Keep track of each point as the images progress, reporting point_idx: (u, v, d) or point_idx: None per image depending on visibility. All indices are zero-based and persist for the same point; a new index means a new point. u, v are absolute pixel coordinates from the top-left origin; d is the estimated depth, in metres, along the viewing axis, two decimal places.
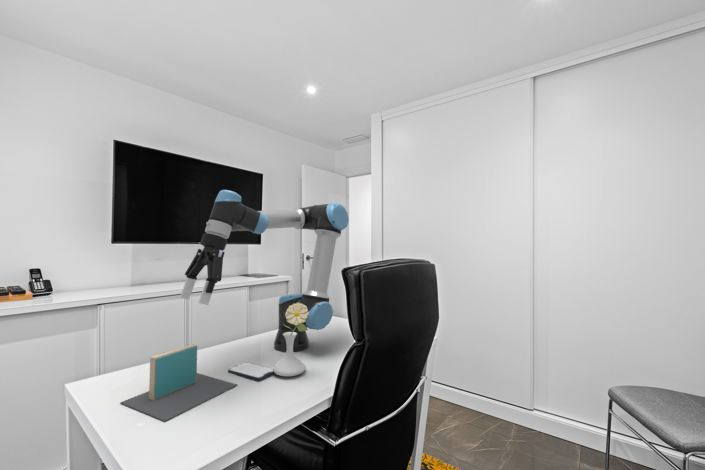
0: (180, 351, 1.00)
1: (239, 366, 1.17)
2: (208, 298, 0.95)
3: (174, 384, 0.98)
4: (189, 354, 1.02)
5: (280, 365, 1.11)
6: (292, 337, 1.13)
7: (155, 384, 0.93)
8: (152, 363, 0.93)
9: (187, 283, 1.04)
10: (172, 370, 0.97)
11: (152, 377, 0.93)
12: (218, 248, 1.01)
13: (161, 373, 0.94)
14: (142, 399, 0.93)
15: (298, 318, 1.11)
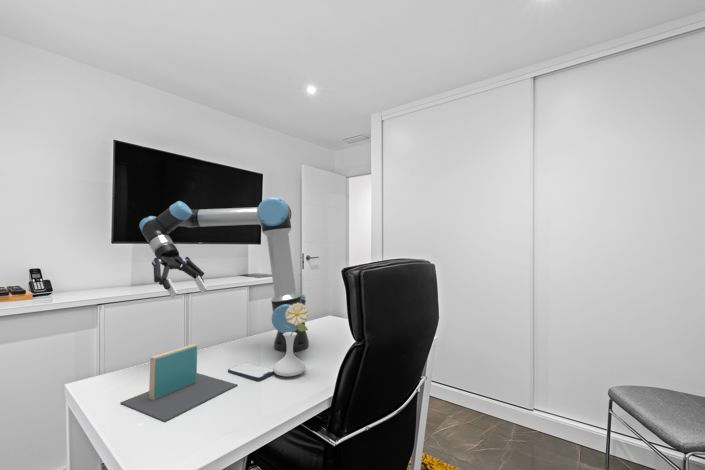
0: (180, 351, 1.00)
1: (239, 366, 1.17)
2: (172, 289, 1.12)
3: (174, 384, 0.98)
4: (189, 354, 1.02)
5: (280, 365, 1.11)
6: (292, 337, 1.13)
7: (155, 384, 0.93)
8: (152, 363, 0.93)
9: (196, 283, 1.24)
10: (172, 370, 0.97)
11: (152, 377, 0.93)
12: (160, 257, 1.20)
13: (161, 373, 0.94)
14: (142, 399, 0.93)
15: (298, 318, 1.11)
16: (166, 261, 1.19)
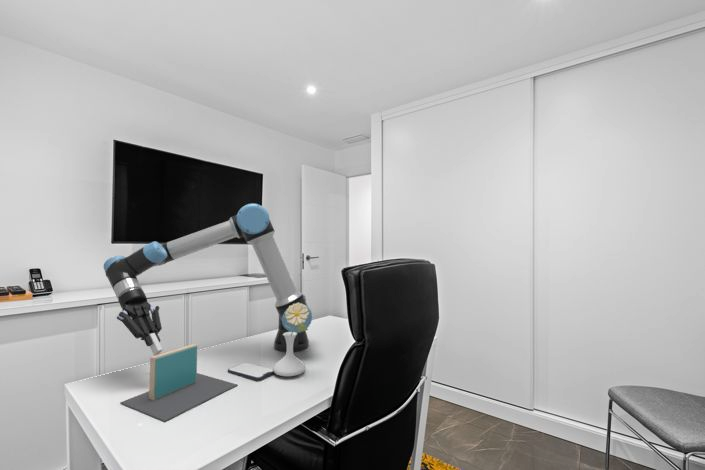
0: (180, 351, 1.00)
1: (239, 366, 1.17)
2: (155, 346, 1.02)
3: (174, 384, 0.98)
4: (189, 354, 1.02)
5: (280, 365, 1.11)
6: (292, 337, 1.13)
7: (155, 384, 0.93)
8: (152, 363, 0.93)
9: None
10: (172, 370, 0.97)
11: (152, 377, 0.93)
12: (123, 305, 1.06)
13: (161, 373, 0.94)
14: (142, 399, 0.93)
15: (298, 318, 1.11)
16: (130, 310, 1.05)
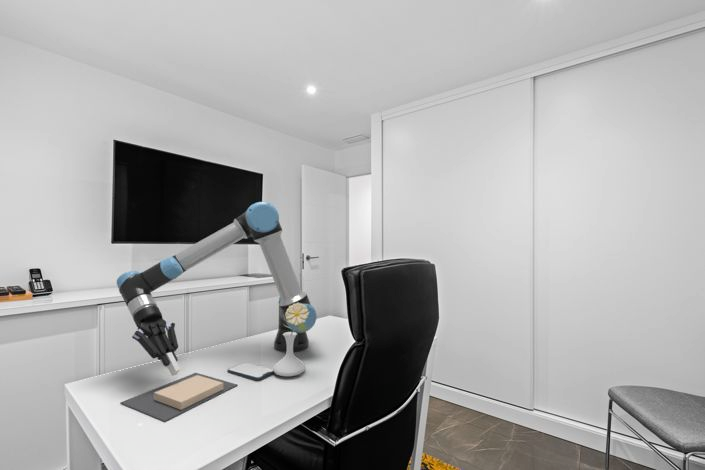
0: (205, 397, 0.94)
1: (238, 366, 1.17)
2: (172, 367, 0.98)
3: None
4: None
5: (280, 365, 1.11)
6: (292, 337, 1.13)
7: (165, 403, 0.91)
8: (177, 405, 0.88)
9: None
10: None
11: (168, 403, 0.89)
12: (138, 323, 1.02)
13: None
14: (142, 399, 0.93)
15: (298, 318, 1.11)
16: (146, 329, 1.01)
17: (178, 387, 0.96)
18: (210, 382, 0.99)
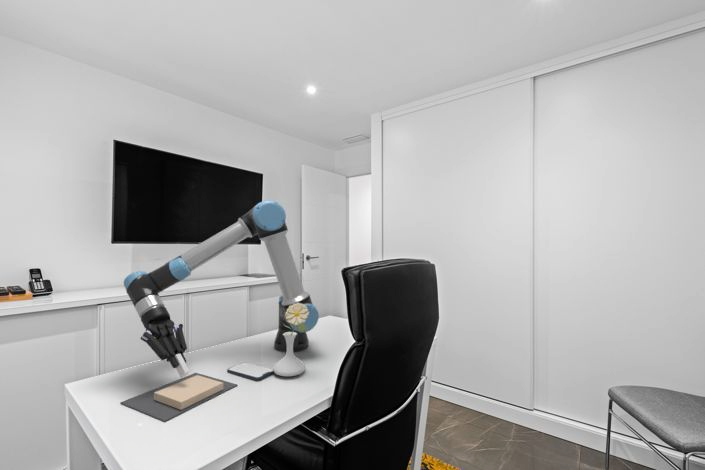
0: (205, 397, 0.94)
1: (238, 366, 1.17)
2: (181, 368, 0.97)
3: None
4: None
5: (280, 365, 1.11)
6: (292, 337, 1.13)
7: (165, 403, 0.91)
8: (177, 405, 0.88)
9: None
10: None
11: (168, 403, 0.89)
12: (146, 324, 1.00)
13: None
14: (142, 399, 0.93)
15: (298, 318, 1.11)
16: (154, 330, 1.00)
17: (178, 387, 0.96)
18: (210, 382, 0.99)
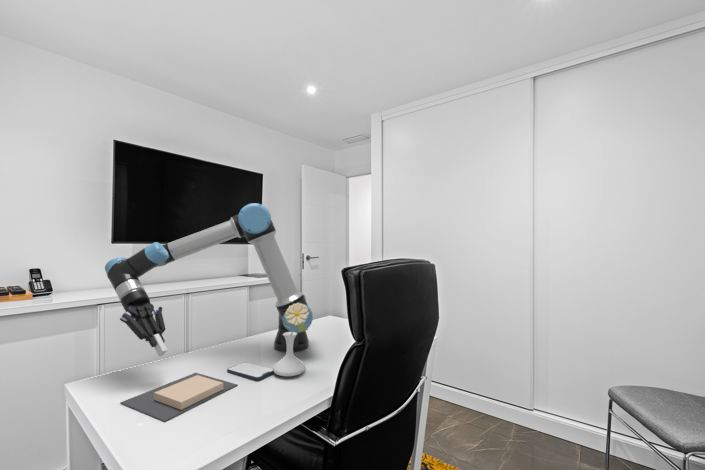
0: (205, 397, 0.94)
1: (238, 366, 1.17)
2: (159, 347, 1.02)
3: None
4: None
5: (280, 365, 1.11)
6: (292, 337, 1.13)
7: (165, 403, 0.91)
8: (177, 405, 0.88)
9: None
10: None
11: (168, 403, 0.89)
12: (126, 306, 1.05)
13: None
14: (142, 399, 0.93)
15: (298, 318, 1.11)
16: (133, 311, 1.05)
17: (178, 387, 0.96)
18: (210, 382, 0.99)
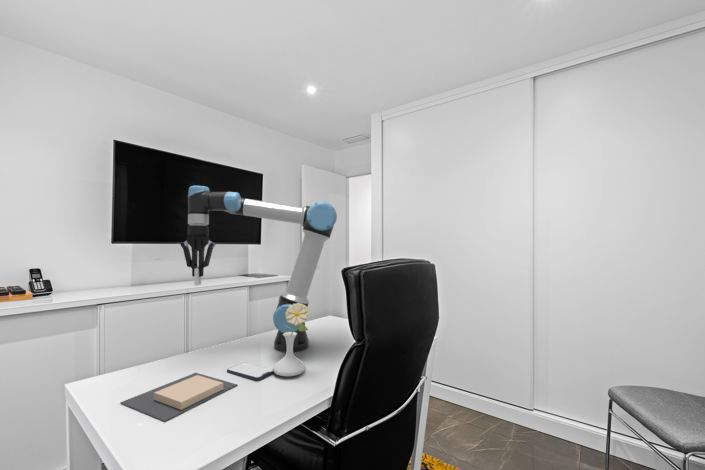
0: (205, 397, 0.94)
1: (238, 366, 1.17)
2: None
3: None
4: None
5: (280, 365, 1.11)
6: (292, 337, 1.13)
7: (165, 403, 0.91)
8: (177, 405, 0.88)
9: None
10: None
11: (168, 403, 0.89)
12: None
13: None
14: (142, 399, 0.93)
15: (298, 318, 1.11)
16: (189, 242, 1.27)
17: (178, 387, 0.96)
18: (210, 382, 0.99)
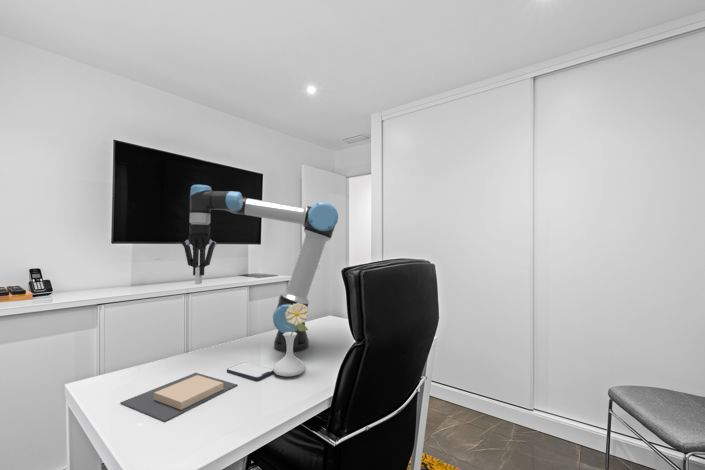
0: (205, 397, 0.94)
1: (238, 366, 1.17)
2: None
3: None
4: None
5: (280, 365, 1.11)
6: (292, 337, 1.13)
7: (165, 403, 0.91)
8: (177, 405, 0.88)
9: None
10: None
11: (168, 403, 0.89)
12: None
13: None
14: (142, 399, 0.93)
15: (298, 318, 1.11)
16: (190, 241, 1.27)
17: (178, 387, 0.96)
18: (210, 382, 0.99)
